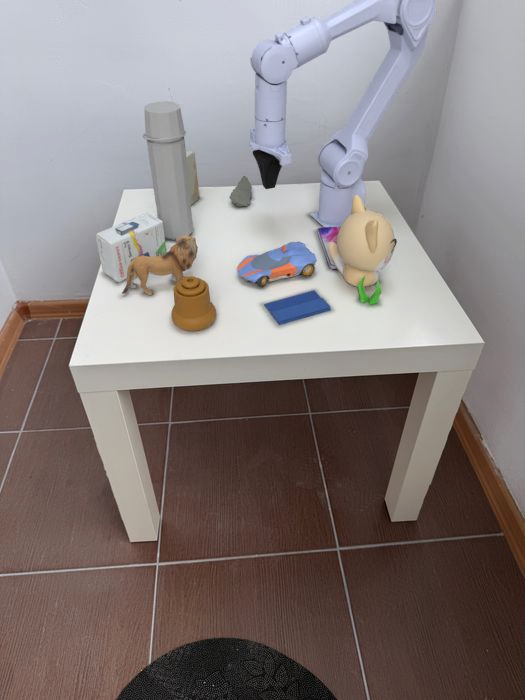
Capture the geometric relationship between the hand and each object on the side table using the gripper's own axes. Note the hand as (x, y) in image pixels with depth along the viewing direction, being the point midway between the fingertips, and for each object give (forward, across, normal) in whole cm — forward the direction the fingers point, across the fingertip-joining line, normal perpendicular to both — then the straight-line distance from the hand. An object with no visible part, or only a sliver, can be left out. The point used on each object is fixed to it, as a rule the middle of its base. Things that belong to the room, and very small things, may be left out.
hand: (269, 187), depth 102 cm
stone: (+8, -18, -1) cm, 20 cm away
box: (+10, -20, -12) cm, 25 cm away
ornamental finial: (+10, +23, -24) cm, 35 cm away
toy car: (+10, +16, -6) cm, 19 cm away
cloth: (+9, +27, -7) cm, 29 cm away
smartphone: (+10, +13, +10) cm, 19 cm away
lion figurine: (+10, +11, -26) cm, 30 cm away
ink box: (+5, +1, -24) cm, 24 cm away
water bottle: (+9, -7, -19) cm, 22 cm away
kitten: (+10, +25, +7) cm, 28 cm away
